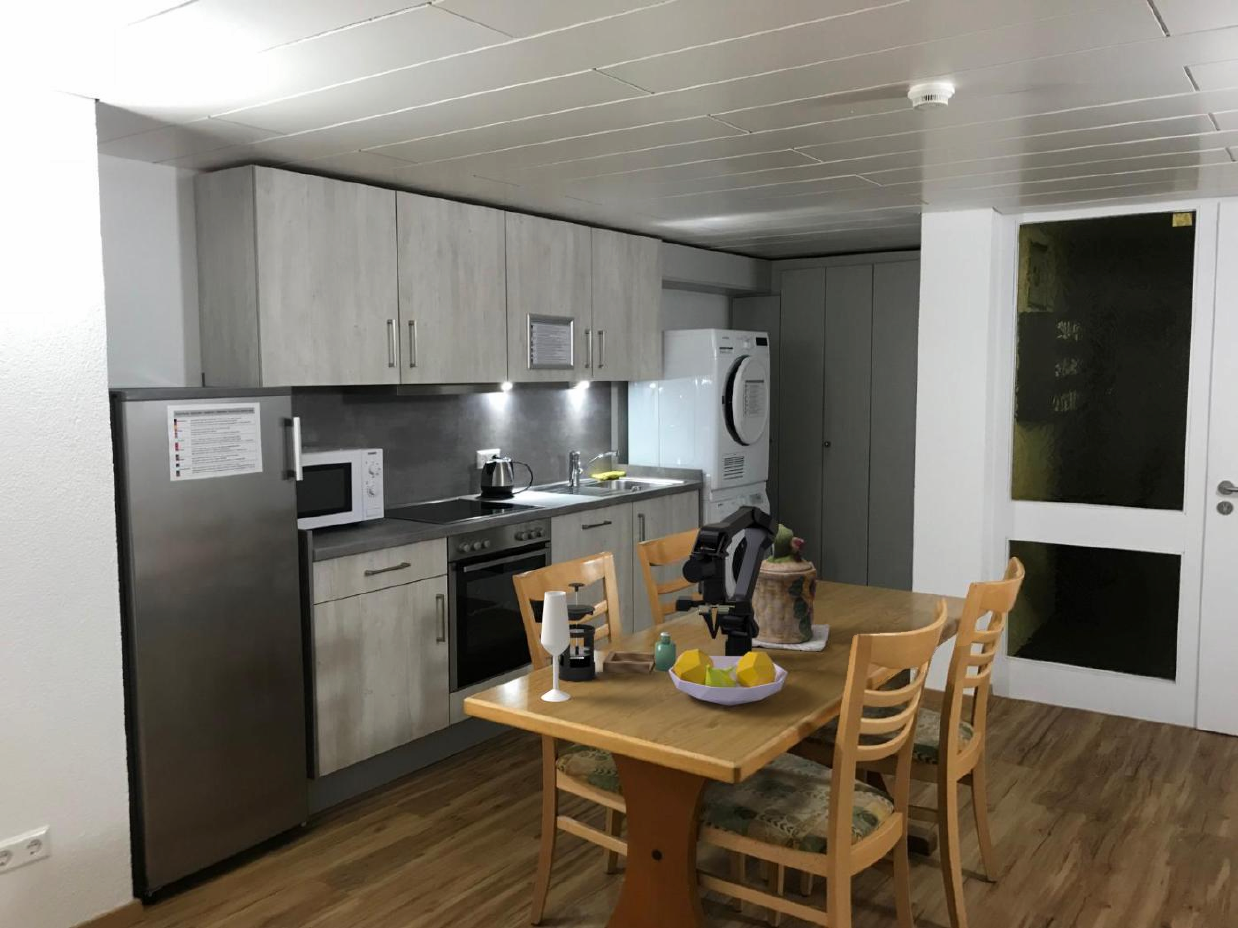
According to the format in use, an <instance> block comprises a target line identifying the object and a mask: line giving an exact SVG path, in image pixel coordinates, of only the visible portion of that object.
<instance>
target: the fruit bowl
mask: <svg viewBox="0 0 1238 928" xmlns="http://www.w3.org/2000/svg"><path fill="white" fill-rule="evenodd" d="M668 671H669V672H668V673H669V675H670V677H671V679H672V681H673V683H674V685H675V687H676V689H678V690H679V691H682V692H683V693H686V694H688V695H690V696H692V697H694V698H696V699H698V700H702V701H706V702H711V703H716V704H719V705H723V706H728V707H731V706H735V705H741V704H745V703H746V704H747V703H751V702H756V701H757V702H758V701H761V700H763V699H765V698H768V697H769V696H771V695H773V694H775V693H778V692H780V691H781V689H782V687H783V685H784V682H785V679H786V677H787V675H788V671H787V670H786V669H784V668H783V667H781V666H779V665H777V664H776V663H775V662H773V660H772V658H771V657H770V656H769V655H768V653H766V651H752V652H748V653H747V654H745V655H744V656H725V655H707V654H706V653H705V652H704V651H703V650H701V649H700V648H695V649H689V650H685V651H683V652H682V653H681V654H680V655H678V657H677V658H676V663H675V664H674V666H673V667H672V668H671V669H669V670H668Z"/></svg>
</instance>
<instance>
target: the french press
mask: <svg viewBox="0 0 1238 928" xmlns="http://www.w3.org/2000/svg"><path fill="white" fill-rule="evenodd" d="M567 586H568V587H571V588H574V592H575V604H567V611H568V621H571V622H575V623H569V631H570V630H572V631H573V630H576V631H575V632H570V639H575V643H576V644H575V646H571V643H570V644H569V645H568V647H567V648H566V649H565V650H564V651H563V652H562V653H561V654H560V655H558V680H561V681H563V682H568V681H573V682H572V683H582V682H581V681H585V682H590V681H592V680H594V679H596V678H597V673H596V661H595V635H596V626H594V625H591V624H586V623H585V624H584V623H578V622H579V621H581V620H582V619H584V618H585V617H586V616H587V615H589V616H591V617H592V616H594V612H595V611H596V607H595V606H593V605H588V604H578V601H579V600H578V592H579V591H580V588H582V587H586V584H585V583H582V582H571V583H569V584H567ZM579 630H583V631H581V632H578V631H579ZM579 639H583V646H582V645H580V646H579V645H578V643H579V641H578V640H579Z"/></svg>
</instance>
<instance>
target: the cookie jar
mask: <svg viewBox="0 0 1238 928" xmlns="http://www.w3.org/2000/svg"><path fill="white" fill-rule="evenodd" d="M778 524H779V523H778ZM804 549H805V540H804V539H803V538H800V537H796V536H794V532H793V529H790V528H787V527H786V526H784V525H783V524H781V523H780V524H779V532H778V534H777V535H776V538H775V541H774V543H773V554H772V555H769V557H768V558H767V559H763V561H762V564H761V568H760V572H759V575H758V579H757V583H756V586H755V590H754V594H753V597H752V606H753V609H754V612H755V614H754V619H755V621H756V623H757V624H758V626H759V634H758V636H757V638H752V647H762V648H766V649H775V650H776V649H777V650H790V651H791V650H792V651H800V650H802V651H804V652H810V651H819V652H821V651H822V650H823V649H824V648H825V647H826V642H827V641H828V638H829V634H830V632H829V631H830V625H829V624H813V621H814V620H815V610H814V600H815V599H816V591H817V586H818V583H817V582H816V580H817V577H818V570H817V569H816V568H815V565H814V563H813V562H812V561H807V560H805V558H803V557H802V555H801V554H800V553H802V552H804Z"/></svg>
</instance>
